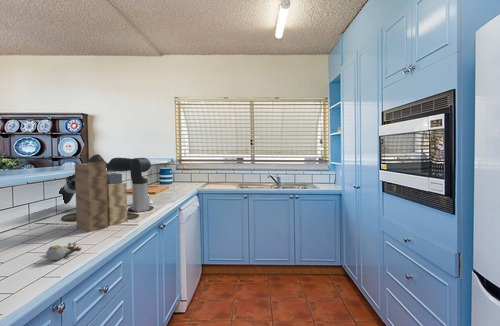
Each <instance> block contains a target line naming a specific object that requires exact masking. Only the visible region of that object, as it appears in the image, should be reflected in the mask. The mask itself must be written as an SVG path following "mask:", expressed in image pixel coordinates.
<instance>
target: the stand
mask: <svg viewBox="0 0 500 326" xmlns="http://www.w3.org/2000/svg"><path fill="white" fill-rule="evenodd" d="M86 162H87V161H86ZM106 163H107V161H105V162H87V163H75V164H74V174H75V188H76V192H75V210H76V211H75V215H76V218H75V219H76V229H79V230H82V231H85V232H89V233H91V232H94V231H95V232H96V231H101V230H104V229H107V228H109V227H108V226H109V225H108V218H107V178H106V173H107V171H106Z"/></svg>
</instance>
